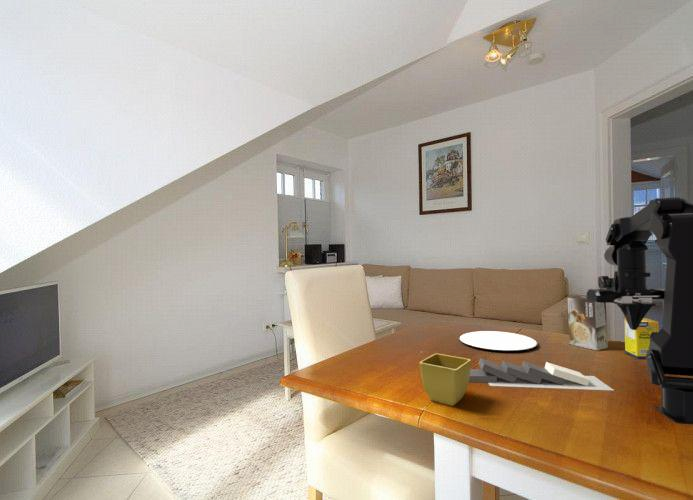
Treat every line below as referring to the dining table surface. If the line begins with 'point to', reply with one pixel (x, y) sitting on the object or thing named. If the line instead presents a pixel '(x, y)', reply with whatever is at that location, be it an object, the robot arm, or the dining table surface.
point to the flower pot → (445, 377)
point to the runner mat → (554, 384)
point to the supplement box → (639, 338)
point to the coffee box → (587, 323)
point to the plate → (498, 341)
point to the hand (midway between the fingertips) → (633, 329)
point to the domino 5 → (567, 374)
